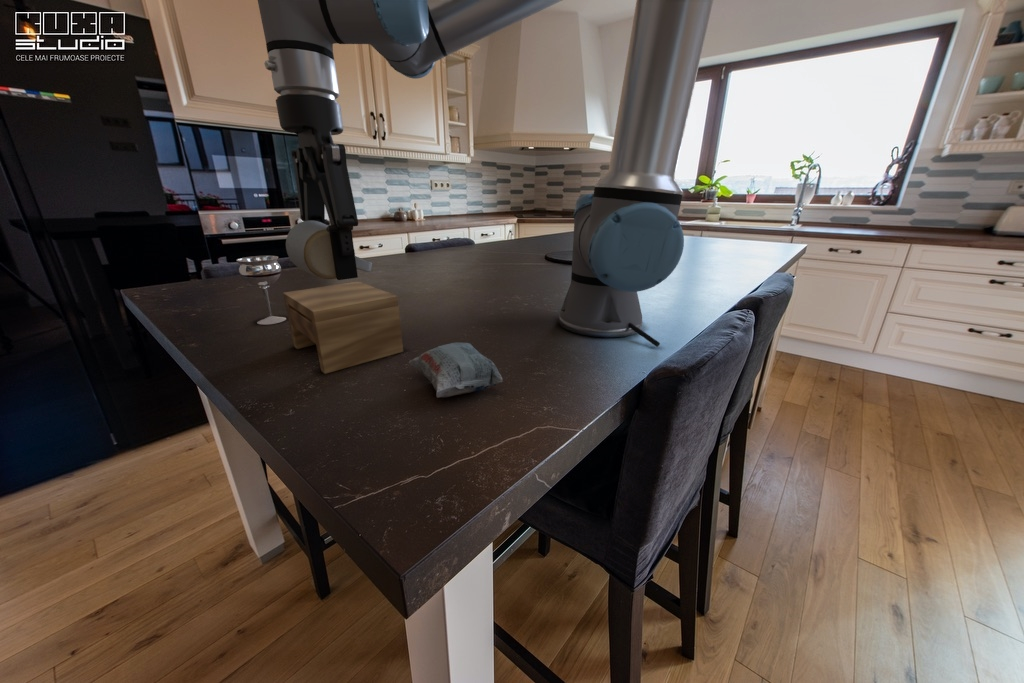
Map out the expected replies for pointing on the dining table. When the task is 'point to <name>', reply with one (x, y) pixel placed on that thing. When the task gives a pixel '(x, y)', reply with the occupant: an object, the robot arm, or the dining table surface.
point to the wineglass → (262, 278)
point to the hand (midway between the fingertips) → (335, 273)
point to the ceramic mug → (315, 250)
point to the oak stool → (345, 323)
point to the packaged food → (457, 369)
